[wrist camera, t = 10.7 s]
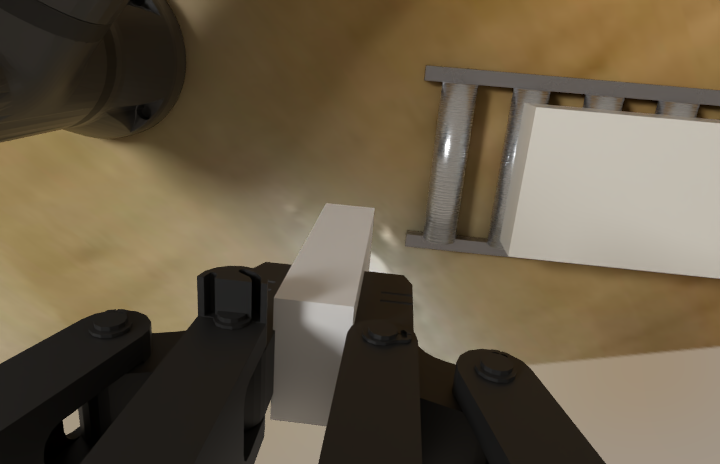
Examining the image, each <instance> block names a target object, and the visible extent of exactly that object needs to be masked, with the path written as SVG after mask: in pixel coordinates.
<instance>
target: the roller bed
mask: <svg viewBox="0 0 720 464" xmlns="http://www.w3.org/2000/svg"><path fill="white" fill-rule="evenodd" d="M424 80H427V81H439V82H442V90H441V98H440V106H439V113H438V121H437V129H436V137H435V145H434V153H433V161H432V168H431V176H430V184H429V192H428V200H427V208H426V215H425V223H424V231H423V232H419V231H409V230H407V233H406V241H405V246H409V247H418V248H428V249H437V250H447V251H457V252H466V253H476V254H485V255H495V256H505V257H509V256H508V255H507V253H506V251H505V249H504V248H503V246H502V244H501V242H500V236H501V230H502V224H503V219H504V213H505V208H506V202H507V197H508V191H509V186H510V180H511V174H512V169H513V163H514V158H515V152H516V147H517V141H518V135H519V130H520V124H521V119H522V113H523V108H524V103H534V104H545V105H548V103H549V98H550V93H551V91H554V92H565V93H577V94H586V95H585V99H584V104H583V108H591V109H602V110H613V111H622V106H623V102H624V98H635V99H646V100H658V104H657V107H656V111H655V114H659V115H670V116H681V117H693V118H696V116H697V112H698V109H699V106H700V104H704V105H715V106H720V90H709V89H697V88H686V87H674V86H662V85H650V84H639V83H627V82H615V81H603V80H592V79H580V78H568V77H556V76H545V75H533V74H521V73H509V72H498V71H486V70H474V69H462V68H451V67H439V66H427V65H426V69H425V77H424ZM478 85H485V86H496V87H508V88H514V89H513V95H512V101H511V106H510V112H509V118H508V124H507V130H506V136H505V141H504V147H503V153H502V159H501V165H500V170H499V176H498V182H497V188H496V194H495V200H494V205H493V211H492V217H491V223H490V229H489V235H488V239H487V238H477V237H467V236H458V235H456V231H457V224H458V217H459V211H460V204H461V197H462V191H463V184H464V177H465V170H466V164H467V157H468V150H469V144H470V137H471V130H472V124H473V117H474V110H475V104H476V97H477V90H478ZM622 97H623V98H622ZM514 258H518V257H514ZM524 259H528V258H524ZM533 260H537V259H533ZM543 261H547V260H543ZM552 262H556V261H552ZM562 263H566V262H562ZM572 264H576V263H572ZM581 265H585V264H581ZM591 266H595V265H591ZM600 267H604V266H600ZM610 268H614V267H610ZM619 269H624V268H619ZM629 270H633V269H629ZM639 271H643V270H639ZM648 272H652V271H648ZM658 273H662V272H658ZM667 274H671V273H667ZM677 275H681V274H677ZM687 276H691V275H687ZM696 277H700V276H696ZM706 278H710V277H706ZM715 279H719V278H715Z"/></svg>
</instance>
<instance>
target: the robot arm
mask: <svg viewBox="0 0 720 464" xmlns="http://www.w3.org/2000/svg"><path fill="white" fill-rule="evenodd" d="M185 69H186V55H185V46H184V41H183V37H182V33H181V30H180V27H179V24H178V22H177V20H176V18H175V16H174V13H173V12H172V10H171V8H170V6H169V5H168V3H167V2H166V0H0V142H5V141H10V140H14V139H19V138H24V137H28V136H33V135H38V134H42V133H47V132H52V131H56V130H61V129H63V130H67V131H70V132H74V133H77V134H80V135H84V136H88V137H93V138H103V139H110V138H120V137H125V136H129V135H132V134H136V133H139V132H142V131H145V130H147V129H149V128H151V127H152V126H154V125H155V124H157V123H158V122H160V121H161V120H162V119H163V118H164V117H165V116H166V115H167V114H168V113H169V111H170V110H171V109H172V107H173V106H174V104H175V103H176V101H177V99H178V97H179V94H180V92H181V89H182V86H183V82H184V77H185ZM374 211H375V208H370V207H360V206H350V205H340V204H330V203H326V204H325V206H324V208H323V209H322V211H321V213H320V215H319V217H318V218H317V220H316V222H315V224H314V226H313V228H312V229H311V231H310V233H309V235H308V237H307V238H306V240H305V242H304V244H303V246H302V248H301V249H300V251H299V253H298V255H297V257H296V258H295V260H294V262H293V264H292V265H289V264H279V263H270V262H265V263H263V264H261V265H259V266H257V267H255V268H249V267H244V266H225V267H217V268H213V269H210V270H207V271H204V272H203V273H201V274H200V275H198V276H197V291H198V317H197V318H196V319H195V320H194V322H193V323H192V324H191V325H190V327H189V328H188V329H187V330H186V331H179V332H166V333H152V331H151V321H150V320H149V318H148V317H147V316H146V315H144V314H141V313H139V312H136V311H129V310H124V309H118V310H116V309H115V310H107V311H105V312H102V313H97V314H94V315H91V316H89V317H86V318H84V319H81V320H80V321H78V322H76V323H74V324H72V325H71V326H69V327H67V328H65V329H63V330H61V331H60V332H58V333H56V334H54V335H52V336H50V337H49V338H47V339H45V340H43V341H41V342H39V343H38V344H36V345H34V346H32V347H30V348H28V349H27V350H25V351H23V352H21V353H19V354H18V355H16V356H14V357H12V358H10V359H8V360H7V361H5V362H3V363H1V364H0V464H254V463H255V460H256V457H257V454H258V452H259V449H260V446H261V443H262V441H263V438H264V430H265V413H266V410H267V408H268V405H269V403H270V400H271V417H270V418H271V419H273V420H280V421H288V422H297V423H304V424H305V423H306V424H312V425H321V426H327V427H326V431H325V436H324V441H323V445H322V450H321V454H320V459H319V463H318V464H606V463H605V462H604V461H603V460H602V458H601V457H600V456H599V454H598V453H597V452H596V451H595V449H594V448H593V447H592V446H591V444H590V443H589V442H588V441H587V439H586V438H585V437H584V435H583V434H582V433H581V432H580V430H579V429H578V428H577V427H576V425H575V424H574V423H573V422H572V420H571V419H570V418H569V417H568V415H567V414H566V413H565V411H564V410H563V409H562V408H561V406H560V405H559V404H558V403H557V402H556V400H555V399H554V398H553V396H552V395H551V394H550V392H549V391H548V390H547V389H546V387H545V386H544V385H543V384H542V382H541V381H540V380H539V379H538V377H537V376H536V375H535V374H534V372H533V371H532V370H531V369H530V368H529V367H528V366H527V365H526V364H525V363H524V362H523V361H521V360H519V359H517V358H515V357H513V356H511V355H510V354H508V353H505V352H500V351H498V350H487V349H477V350H470V351H467V352H465V353H464V354H462V355H460V357H459V359H458V360H457V362H456V365H455V364H452V363H449V362H445V361H442V360H440V359H437V358H435V357H433V356H431V355H429V354H427V353H426V352H424V351H423V350H422V349H421V348H420V347H419V346H418V340H417V337H416V335H415V333H414V329H413V297H412V295H413V293H412V284H411V283H410V282H409V281H408V280H407V278H406V277H405V276H404V275H396V274H386V273H377V272H369V264H370V254H371V243H372V232H373V221H374ZM77 409H78V411H79V419H80V427H78V428H77V429H76V430H75V431H73V432H72V433H70V434H68V435H65V433H64V428H63V421H62V420H63V419H65V418H66V417H67V416H69V415H70V414H72V413H73V412H74V411H76V410H77Z"/></svg>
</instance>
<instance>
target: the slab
mask: <svg viewBox="0 0 720 464" xmlns="http://www.w3.org/2000/svg"><path fill="white" fill-rule="evenodd" d="M500 242H501V244H502V246H503V248H504V249H505V251H506V253H507V255H508V256H509V257H518V258H528V259H537V260H547V261H556V262H566V263H576V264H585V265H595V266H604V267H614V268H624V269H633V270H643V271H652V272H662V273H671V274H681V275H691V276H700V277H710V278H719V279H720V120H715V119H704V118H693V117H681V116H670V115H659V114H647V113H636V112H625V111H613V110H602V109H591V108H579V107H568V106H557V105H545V104H534V103H524V108H523V113H522V119H521V124H520V130H519V135H518V141H517V147H516V152H515V158H514V163H513V169H512V174H511V180H510V186H509V191H508V197H507V202H506V208H505V213H504V219H503V224H502V230H501V236H500Z"/></svg>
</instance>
